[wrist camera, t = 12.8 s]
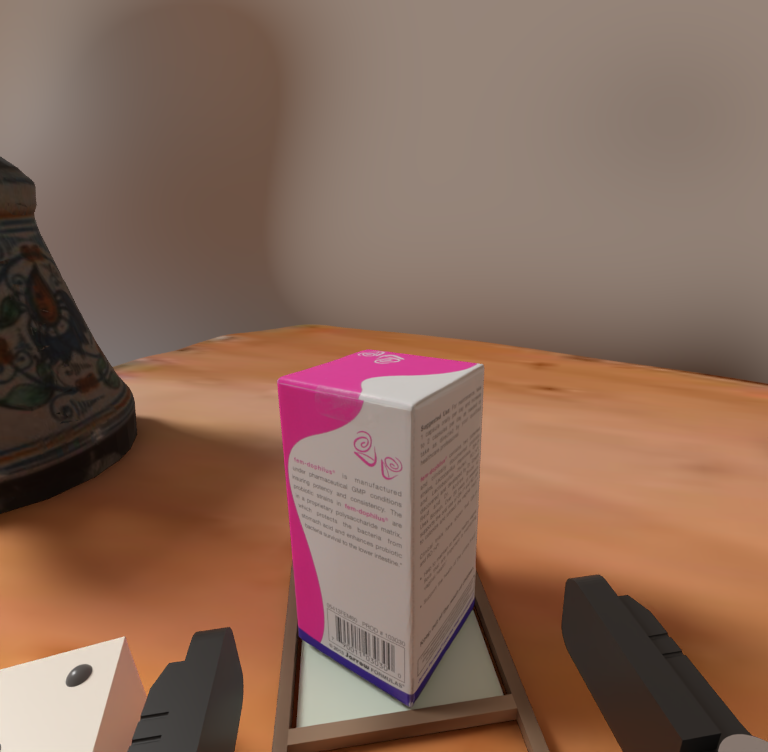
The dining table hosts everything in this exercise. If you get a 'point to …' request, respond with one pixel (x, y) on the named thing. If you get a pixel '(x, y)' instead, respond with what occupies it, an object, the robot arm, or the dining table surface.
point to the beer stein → (49, 368)
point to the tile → (363, 699)
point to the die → (72, 701)
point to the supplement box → (383, 509)
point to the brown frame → (303, 744)
